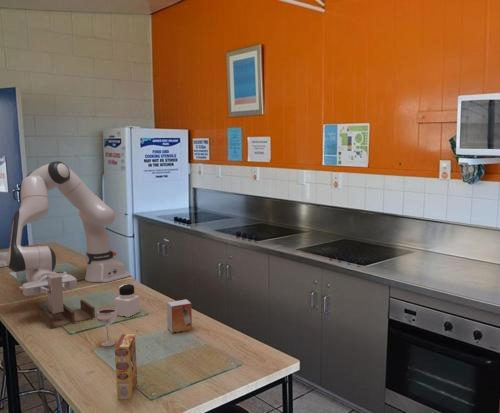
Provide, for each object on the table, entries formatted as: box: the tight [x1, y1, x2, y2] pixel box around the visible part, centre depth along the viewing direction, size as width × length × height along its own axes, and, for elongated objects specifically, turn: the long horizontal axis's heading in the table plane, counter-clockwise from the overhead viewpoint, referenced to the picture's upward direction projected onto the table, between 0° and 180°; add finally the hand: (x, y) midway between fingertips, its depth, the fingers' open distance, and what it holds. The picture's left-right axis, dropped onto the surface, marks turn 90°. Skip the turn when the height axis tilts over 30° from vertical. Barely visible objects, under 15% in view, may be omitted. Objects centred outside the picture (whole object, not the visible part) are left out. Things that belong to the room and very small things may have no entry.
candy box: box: [114, 333, 138, 401], centre depth 134 cm, size 9×4×15 cm, turn 3°
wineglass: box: [96, 306, 118, 347], centre depth 167 cm, size 7×7×12 cm
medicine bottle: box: [114, 283, 140, 318], centre depth 195 cm, size 7×7×12 cm
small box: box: [166, 299, 193, 334], centre depth 179 cm, size 8×6×10 cm
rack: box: [39, 299, 96, 330], centre depth 190 cm, size 17×13×4 cm
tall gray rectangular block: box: [47, 274, 64, 314], centre depth 186 cm, size 4×5×14 cm
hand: (55, 290), depth 185 cm, fingers closed on tall gray rectangular block, 4 cm apart
